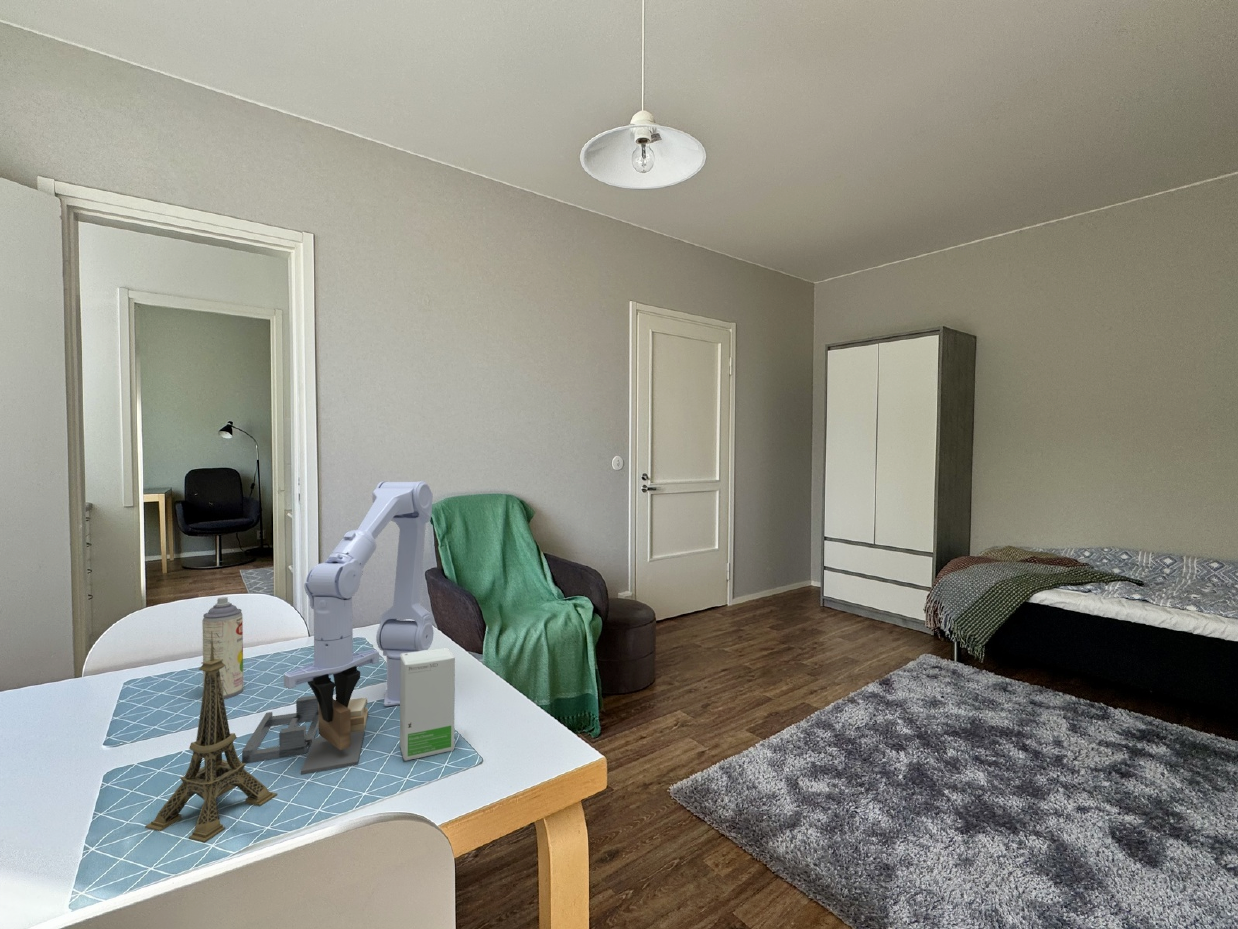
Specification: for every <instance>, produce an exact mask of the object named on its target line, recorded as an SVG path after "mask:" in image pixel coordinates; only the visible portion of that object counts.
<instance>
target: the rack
mask: <svg viewBox="0 0 1238 929" xmlns="http://www.w3.org/2000/svg"><path fill="white" fill-rule="evenodd" d="M295 702H296V703H295V706H296V707H295V708H296V712H295V713H294V712H293V713H286V714H285V713H284V714H279V715H273V711H269V712H265V714H264V716H263V717H262V719H261V720H260V722H259V724H258V725H257V727H256V728H255V730H254V732H253V733H252V734H251V736H250V738H249V740H248V741H247V743H246V744H245V746H244V748H243V749H242V751H241V763H246V764H250V763H256V762H262V761H269V760H273V759H274V760H276V759H280V758H286V757H292V756H301V755H307V753H308V750H309V749H308V748H310V747H311V744H312V742H313V739H314V738H315V737H316V735H317V734H316V733H317V731H318V730H319V703H318V701H317V698H316V696H315V695H310V696H302V697H297V699H296V701H295ZM304 722H311V723H310V725H309V727H308V729H307V725H299V723H304ZM284 725H285V726H286V725H288V726H287V727H286V728H280V731H279V734H278V740H279V742H278V746H273V747H272V746H270V747H266V748H259V747H260V745H261V744H262V741H263V740H264V738H265V736H266V734H267V733H268V731H269V730H270V729H271V727H276V726H284ZM258 748H259V749H258Z"/></svg>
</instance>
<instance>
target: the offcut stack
mask: <svg viewBox="0 0 1238 929" xmlns="http://www.w3.org/2000/svg"><path fill="white" fill-rule="evenodd" d="M367 705H368V697H359V698H350V701H349V704H348V708H349V709H350V732H357V731H363V730H365V729H366V726H367V721H368V716H369V707H367Z"/></svg>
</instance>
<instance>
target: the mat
mask: <svg viewBox="0 0 1238 929" xmlns="http://www.w3.org/2000/svg"><path fill="white" fill-rule="evenodd" d="M365 732H366V731H365V730H363V731H357V732H350V747H348V748H345V749H342V750H339V749H338V748H337V747H335V746H334V745H333V744H331V743H330V742H329V741H327V740H326V739H324V738H323V737H322V736H318V737H314V739H313V741H312V744H311V747H309V749H308V751H307V753H306V757H305V759H304V763H303V764H302V767H301V770H300V775H305V774H311V773H316V772H317V773H318V772H324V771H328V770H329V771H330V770H334V769H340V768H346V767H347V768H348V767H351V766H357V765H358V764H359V761H360V756H361V751H362V746H363V743H364V742H363V741H364V737H365Z"/></svg>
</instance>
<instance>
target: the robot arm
mask: <svg viewBox="0 0 1238 929" xmlns="http://www.w3.org/2000/svg"><path fill="white" fill-rule="evenodd" d="M433 497H434V496H433V492H432V489H431V487H430V485H429V484H428V482H426V481H424V480H419V481H387V480H383V481H380V482H378V483H377V485H376V487H375V488H374V490H373V491H372V505H371V506H370V508H369V509H368V511H367V513H366V515H365V516H364V518H363V519H362V521H361V523H360V525H359V527H358V528H357V529H352V530H349V531H347V532H346V533H345V534H344V535H343V537H342V539H341V540H340V541H339V542H338V544H337V545H336V547H335V548H333V550H332V552H330V554H329V556H328V557H327V558H326V559H325V561H324V562H320V563H318V564H316V565H315V566H313V567H312V568H311V569H310V570H309V571H308V573H307V576H306V580H305V582H304V584H303V587H304V591H305V593H306V596H308V599H309V607H311V610H313V656H314V657H313V659H314V660H313V662H312V663H310V664H308V665H305V666H303V667H300V668H297V669H295V670H292V671H289V672H285V673H283V687H285V688H286V689H289V690H291V689H294V688H296V686H298V685H301V684H305V683H307V684H308V686H309V687H310V689H311V690H312V692H313V694H314V696H316V698H317V701H318V703H319V706H320V709H321V713H322V718H323V720H325V721H326V722H331V721H332V718H333V699H334V693H335V700H336V701H337V702H339V703H341V704H342V705H344V706H345V707H347V708H348V704H349V701H350V699H352V698H351V697H352V695H353V693H354V689H355V688H356V686H357V684H358V682H359V681H360V679H361V671H360V670H358V668H359V667H364V666H367V665H369V664H370V665H371V664H372V665H374V664H378V663H380V655H379V654H380V652H379V651H378V650H375V649H369V650H365V651H359V652H354V646H353V644H354V643H353V642H354V640H353V639H354V638H353V637H354V635H353V634H354V633H353V631H354V630H353V628H354V627H353V596H355V594H356V593H357V592H358V590H360V586H361V579H362V576H363V573H364V570H363V569H364V567H365V565H367V563H368V562H369V560H370V558H371V557H372V556H373V554H374V553H375V552H376V550H377V544H376V543H377V542H376V538H377V537H378V536H380V534H381V533H382V532H383V530H384V529H385V528H386V527H387V526H388V525H389V523H390V522H393V523H395V524H396V525H397V527H398V528H399V533H398V534H399V535H398V544H397V557H396V570H395V580H394V593H393V604H392V606H390V607H389V608H388V609H387V610H385V611H383V613H382V614H381V615H380V616H381V617H380V622H379V627H378V629H377V631H376V638H375V640H376V645H377V647H378V649H379V650H380V651H382V656H385V657H386V690H385V694H384V700H383V706H384V707H389V706H390V707H391V706H397V705H400V670H401V662H400V654H402V653H410V652H418V651H422V650H429V648H430V647H431V646H432V644H433V640H434V635H435V634H434V628H433V627H434V626H433V614H432V612H430V611H429V610H427V609H426V608H425V606H423V605H422V604H421V594H422V593H421V592H422V579H423V569H424V567H423V566H424V557H425V556H424V555H425V554H424V552H425V541H426V540H425V538H426V529H427V528H426V527H427V523H428V522H430V521H431V520H432V519H431V518H432V513H433V512H432V510H433ZM330 676H333V681H332V679H331V677H330Z"/></svg>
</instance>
